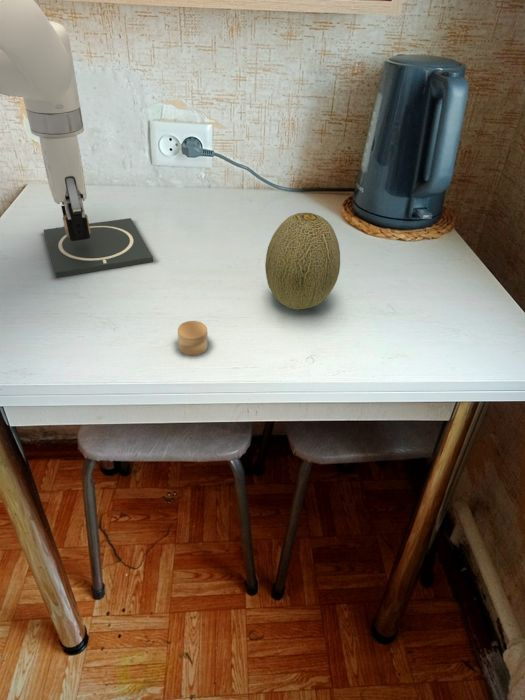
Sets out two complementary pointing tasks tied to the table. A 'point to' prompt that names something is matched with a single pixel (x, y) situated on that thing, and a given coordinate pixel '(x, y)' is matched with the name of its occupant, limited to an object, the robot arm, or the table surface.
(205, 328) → the tan cork stopper
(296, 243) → the fruit
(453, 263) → the table surface
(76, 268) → the slate board
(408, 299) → the table surface
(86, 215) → the tan cork puck
